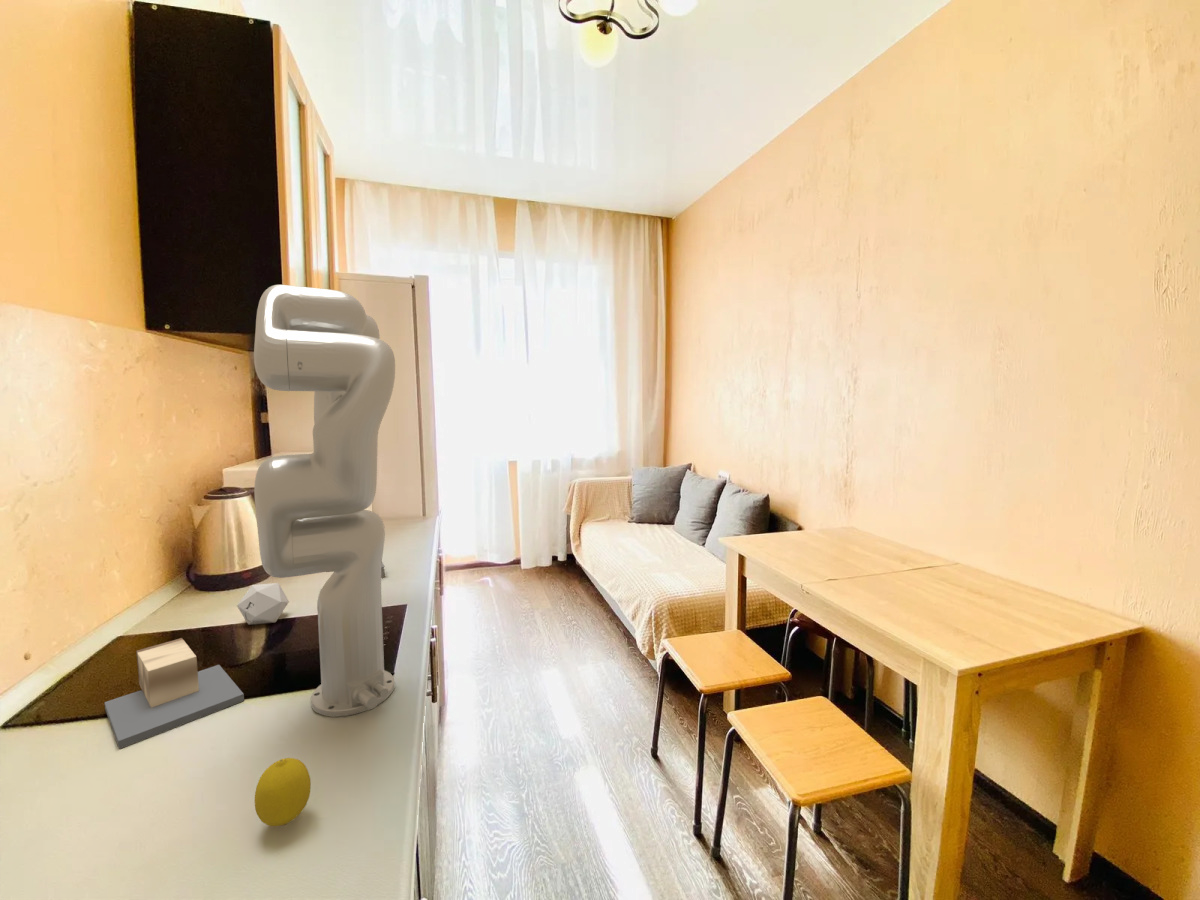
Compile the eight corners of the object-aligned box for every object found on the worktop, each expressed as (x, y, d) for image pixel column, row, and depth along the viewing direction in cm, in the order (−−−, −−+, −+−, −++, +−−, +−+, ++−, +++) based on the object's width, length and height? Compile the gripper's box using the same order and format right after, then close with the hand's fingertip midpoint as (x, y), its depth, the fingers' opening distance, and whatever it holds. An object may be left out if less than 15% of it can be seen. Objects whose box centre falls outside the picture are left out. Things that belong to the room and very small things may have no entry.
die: (238, 622, 113) (223, 598, 106) (273, 591, 119) (260, 567, 113) (266, 639, 111) (253, 616, 104) (300, 608, 118) (289, 584, 111)
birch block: (184, 670, 89) (199, 690, 83) (139, 684, 85) (151, 707, 78) (181, 637, 89) (196, 656, 82) (136, 650, 84) (148, 671, 78)
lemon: (245, 835, 57) (240, 770, 56) (290, 799, 62) (286, 739, 61) (279, 851, 55) (275, 783, 54) (323, 812, 60) (319, 750, 59)
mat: (244, 700, 82) (243, 693, 82) (119, 748, 71) (118, 741, 71) (219, 670, 91) (219, 664, 91) (105, 709, 80) (104, 702, 80)
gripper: (364, 382, 107) (367, 466, 109) (334, 383, 117) (337, 461, 119) (327, 380, 102) (331, 470, 103) (298, 382, 111) (303, 463, 113)
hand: (334, 465), depth 111 cm, fingers closed
